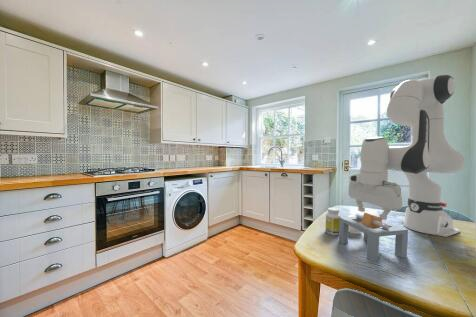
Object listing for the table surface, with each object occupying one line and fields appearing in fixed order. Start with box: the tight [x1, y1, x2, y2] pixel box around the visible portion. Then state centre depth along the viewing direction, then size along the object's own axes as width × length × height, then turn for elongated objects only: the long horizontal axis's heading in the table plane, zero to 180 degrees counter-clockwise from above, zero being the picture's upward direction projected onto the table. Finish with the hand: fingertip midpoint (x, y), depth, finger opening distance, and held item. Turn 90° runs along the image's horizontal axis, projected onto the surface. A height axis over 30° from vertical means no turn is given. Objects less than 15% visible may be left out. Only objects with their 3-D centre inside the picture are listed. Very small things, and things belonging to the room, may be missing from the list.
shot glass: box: [346, 214, 363, 235], centre depth 94 cm, size 7×7×7 cm
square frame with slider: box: [338, 213, 409, 263], centre depth 77 cm, size 15×16×12 cm
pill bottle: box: [325, 207, 342, 236], centre depth 92 cm, size 6×6×11 cm
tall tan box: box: [360, 211, 383, 235], centre depth 77 cm, size 6×3×8 cm, turn 102°
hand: (371, 215), depth 77 cm, fingers open, 8 cm apart
